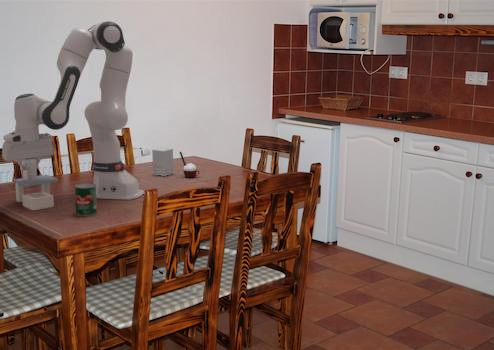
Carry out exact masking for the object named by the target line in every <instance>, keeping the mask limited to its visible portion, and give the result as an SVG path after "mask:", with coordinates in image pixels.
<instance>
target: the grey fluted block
mask: <svg viewBox="0 0 494 350" xmlns="http://www.w3.org/2000/svg"><path fill="white" fill-rule="evenodd" d="M151 151H152V176H157V175H161V176H160V177H163V176H165V177H167V176H166V175H169V176H171V175H170V174H172V175H174V150H173V148H166V147H159V148H154V149H152V150H151Z"/></svg>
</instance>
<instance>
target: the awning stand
mask: <svg viewBox="0 0 494 350" xmlns="http://www.w3.org/2000/svg"><path fill="white" fill-rule="evenodd" d="M13 180H14V183H15V197H16V200H15V201H16V202H18V203H21V202H22V207H24V208H26V209H28V210H31V211H37V210H43V209H49V208H54V207H55V202H54V195H53V194H51V189H50V188H51V186H50V185H51V184H52V183H57V182H59V178H57V177H54V176H52V175H49V174H41V175H40V174H39V175H37V181H31V182H26V181H24V180H23V177H21V178H15V179H13ZM39 185H41V191H38V192H33V193H27V194H25V188H28V187H33V186H39Z"/></svg>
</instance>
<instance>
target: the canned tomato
mask: <svg viewBox="0 0 494 350" xmlns="http://www.w3.org/2000/svg"><path fill="white" fill-rule="evenodd" d="M93 183H94V182H93ZM93 183H92V182H82V183H77V184H74V201H75V204H74V205H75V215H77V216H81V217H89V216H90V217H91V216H94V215H96V214H97V211H98V210H97V208H98V207H97V206H98V205H97V198H96V184H93Z"/></svg>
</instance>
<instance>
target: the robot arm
mask: <svg viewBox="0 0 494 350" xmlns="http://www.w3.org/2000/svg"><path fill="white" fill-rule="evenodd" d="M94 50H98V51H99V50H100V51H102V50H103V51H104V53H105V61H104V65H103V69H102V72H101V76H100V81H99V88H100V93H101V94H100V101H99V100H98V101H93V102H91V103H88V104H87V106H86V107H85V109H84V118H85V119H86V121H87V124H88V128H89V131H90V135H91V140H92V146H93V161H92V170H93V184H96V199H103V200H124V201H125V200H135V199H139V198H140V197H142V196H144V195H145V191H144V190H142V189H140V186H139V182H138V180H137V179H136V177H134V176H133V175H132V174H130V173H129V172H128V171H127V170H126V169H125V167H126V166H127V162H124V163H123V162H122V160H121V142H120V140H119V138H118V136H117V132H116V131H118V130H122V129H123V128H124V127H126V125H127V123H128V119H129V116H128V112H127V110H126V93H127V87H128V83H129V79H130V74H131V72H132V65H133V51H132V49H131V48H130V47H129V46H128V45H126V43H125V39H124V34H123V29H122V27H121V26H120V25H118V24H117V23H116V22H114V21H101V22H99V23H97V24H94V25H93V26H91V27H90V28H88V29H86V28H83V27H76V28H73V29H72V30H71V31H70V33H69V34H68V35H67V38H66V39H65V40H64V42H63V44H62V46H61V48H60V51H59V53H58V56H57V60H56V67H57V70H58V72H59V75H60V82H59V85H58V88H57V91H56V93H55V96H54V99H53V100H52V101H50V100H46V99H44V98H41V97H39V96H37V95H36V94H35V93H25V94H24V93H23V94H20V95H18V96H16V98H15V100H14V105H13V110H14V111H13V112H14V120H15V126H14V127H15V128H14V129H15V130H13V131H12V132H9V133H7V134H4V135H3V136H2V137H3V138H2V139H3V141H4V142H3V144H2V149H1V150H2V151H1V156H2V159H3V160H4V161H6V162H11V161H16V162H17V164H18V166H20V167H19V169H20V171H22V172H23V170H26V166H24V165H23V164H22V162H23V159H29V158H35V159H36V169H39V168H40V167H39V164H40V163H41V160H42V159H41V158H44V157H45V158H46V157H52V156H53V154H54V146H53V135H51V134H50V133H49V132H45V133H40V128H39V127H40V125H44V126H46V127H47V128H48V129H50V130H54V131H58V130H61V129H63V128H64V127H66V126H67V124H68V123H69V121H70V110H71V109H70V107H71V104H72V101H73V98H74V95H75V92H76V90H77V87H78V84H79V81H80V78H81V76H82V73H83V71H84V69H85V66H86V64H87V63H88V60H89V57H90V54H91V53H92V51H94ZM143 194H144V195H143Z"/></svg>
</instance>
